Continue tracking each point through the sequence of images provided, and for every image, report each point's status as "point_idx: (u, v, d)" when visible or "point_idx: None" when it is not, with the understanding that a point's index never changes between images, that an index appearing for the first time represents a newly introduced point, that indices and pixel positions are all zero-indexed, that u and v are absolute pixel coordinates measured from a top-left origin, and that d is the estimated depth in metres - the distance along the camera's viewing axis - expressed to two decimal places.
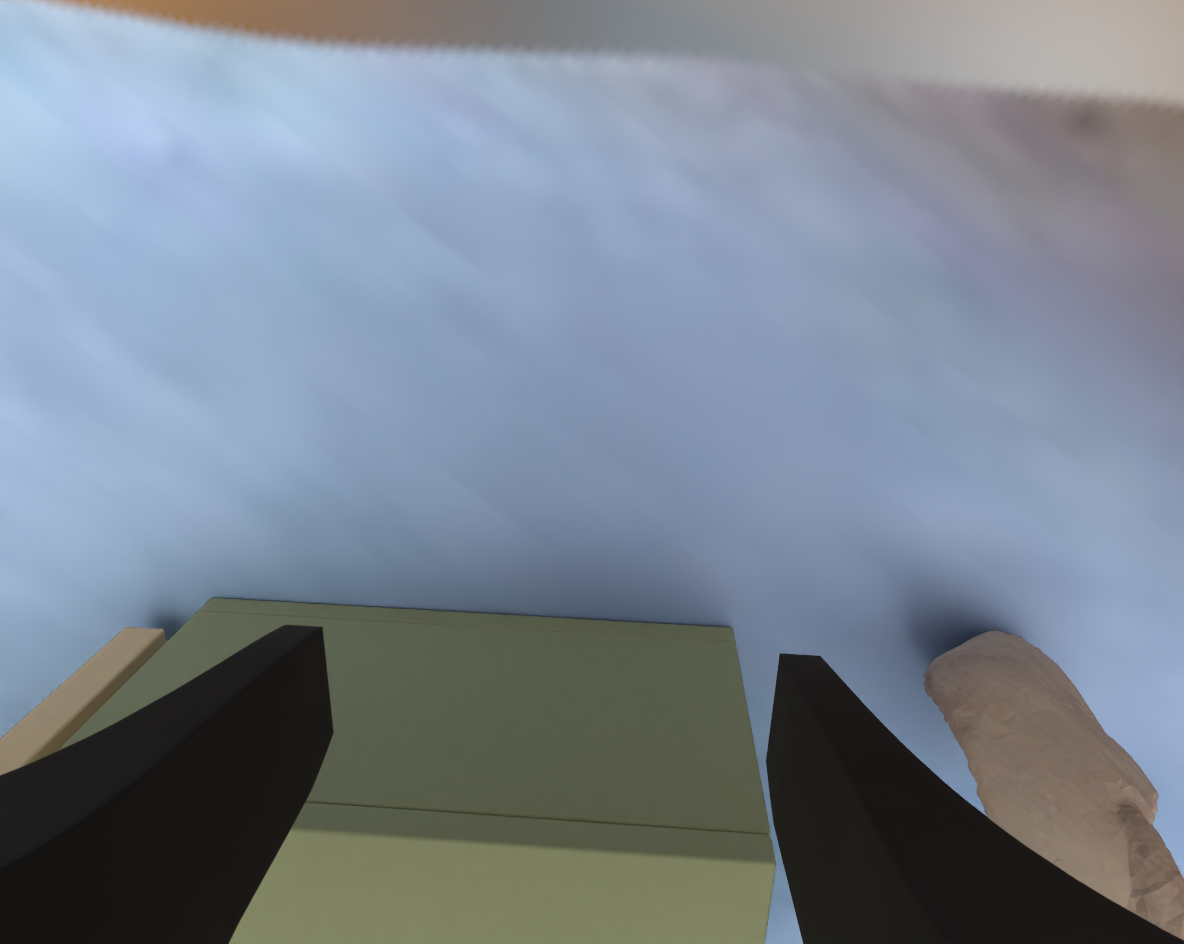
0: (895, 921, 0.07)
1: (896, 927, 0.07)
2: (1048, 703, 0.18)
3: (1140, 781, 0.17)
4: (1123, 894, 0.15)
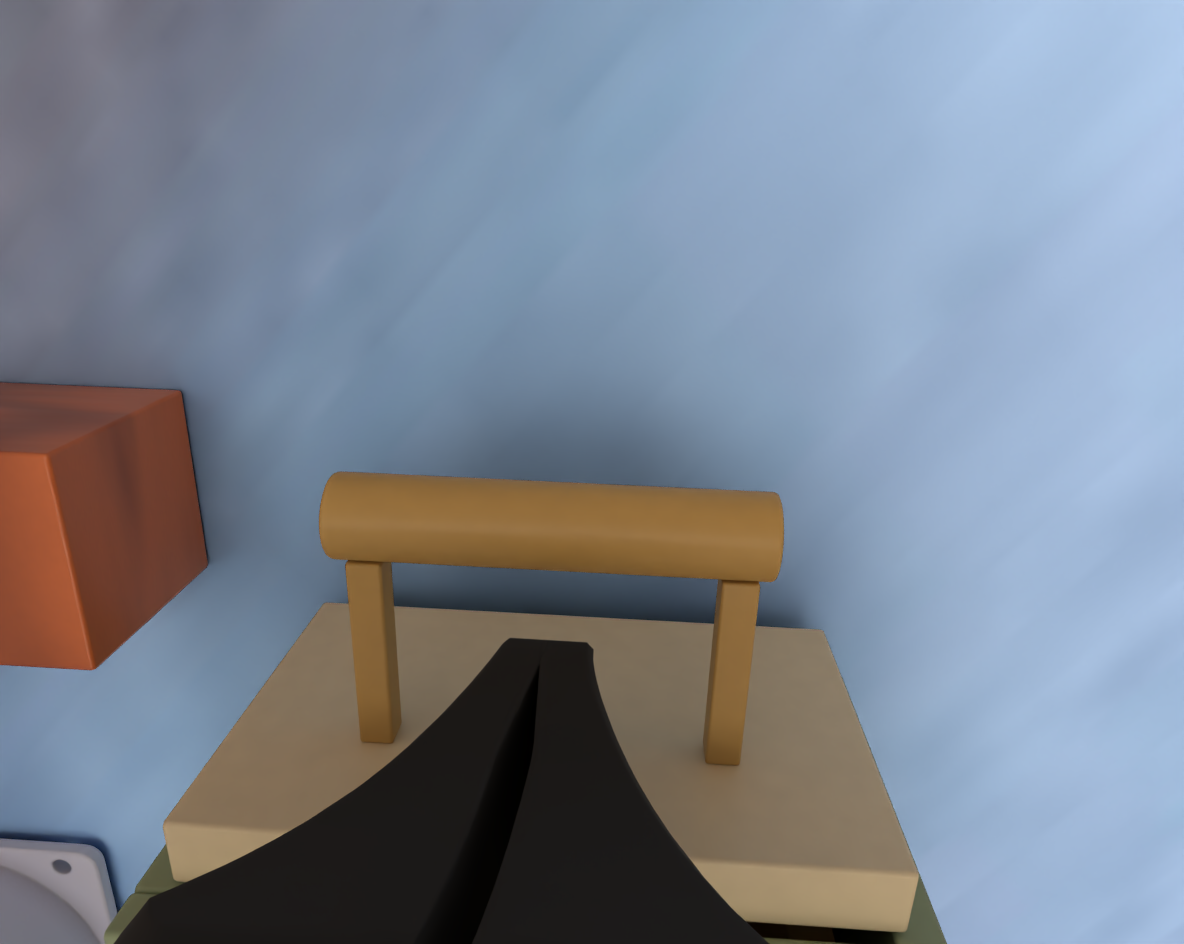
0: None
1: None
2: None
3: None
4: None
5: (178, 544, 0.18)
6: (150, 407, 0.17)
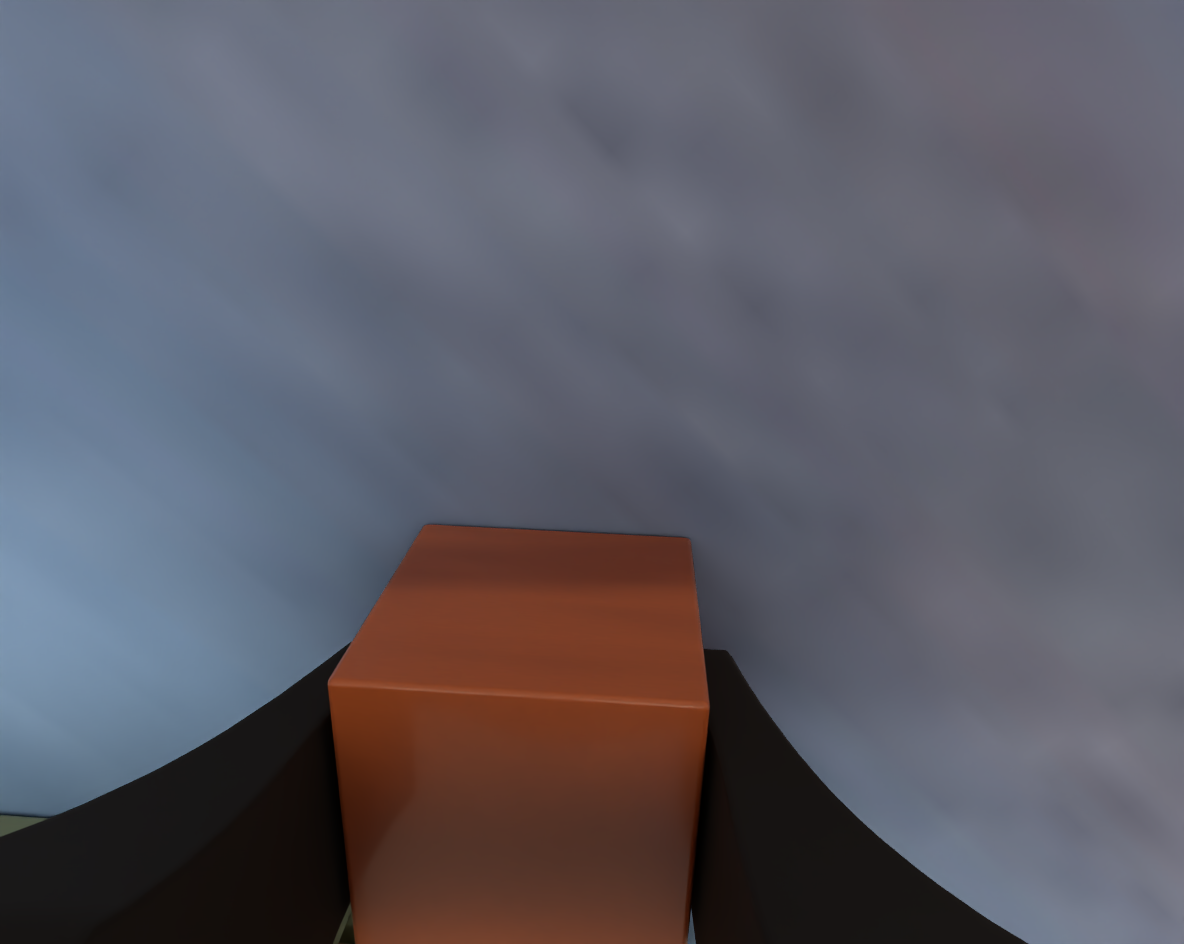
0: (738, 909, 0.07)
1: (738, 915, 0.07)
2: None
3: None
4: None
5: None
6: None
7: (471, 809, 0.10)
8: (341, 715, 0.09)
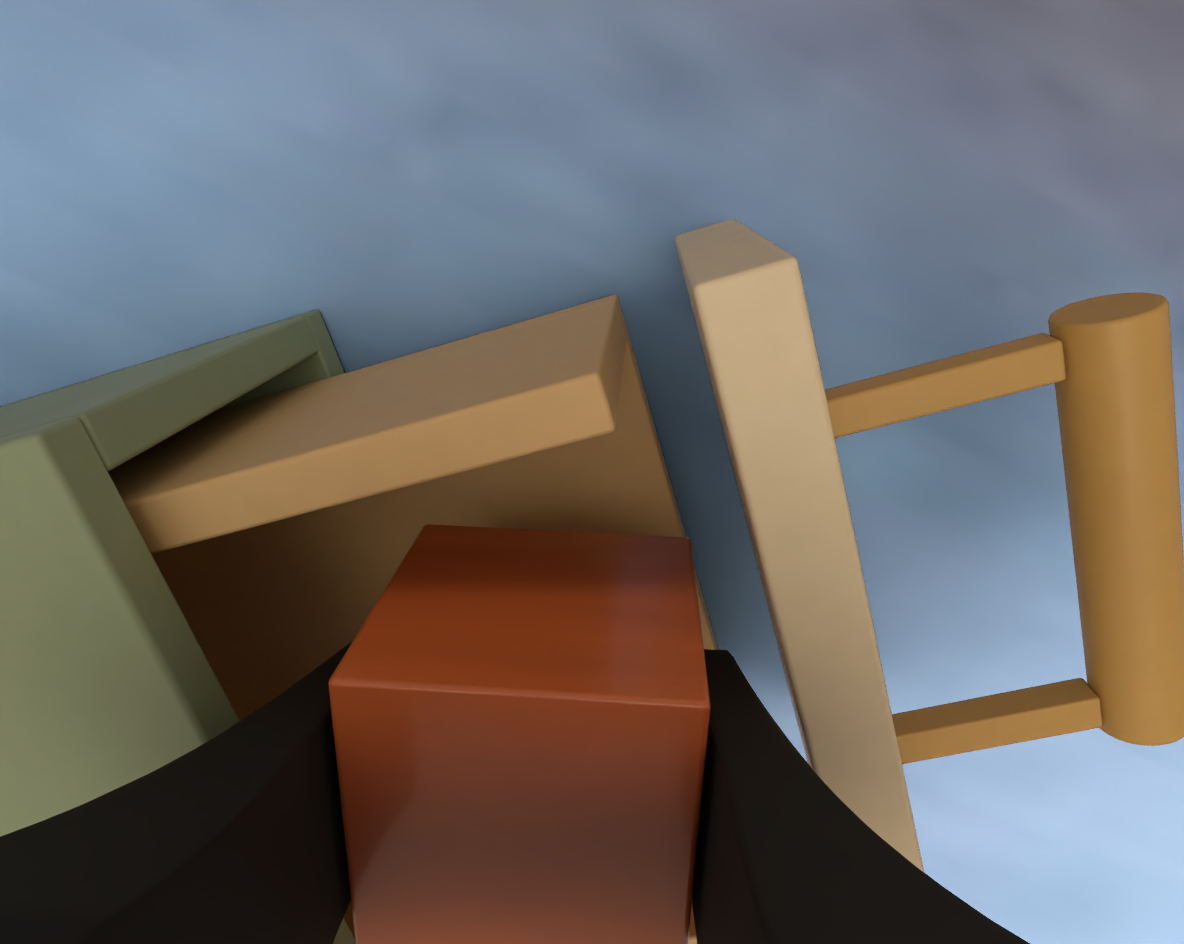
0: (740, 909, 0.07)
1: (740, 915, 0.07)
2: None
3: None
4: None
5: None
6: None
7: (472, 808, 0.10)
8: (342, 715, 0.09)
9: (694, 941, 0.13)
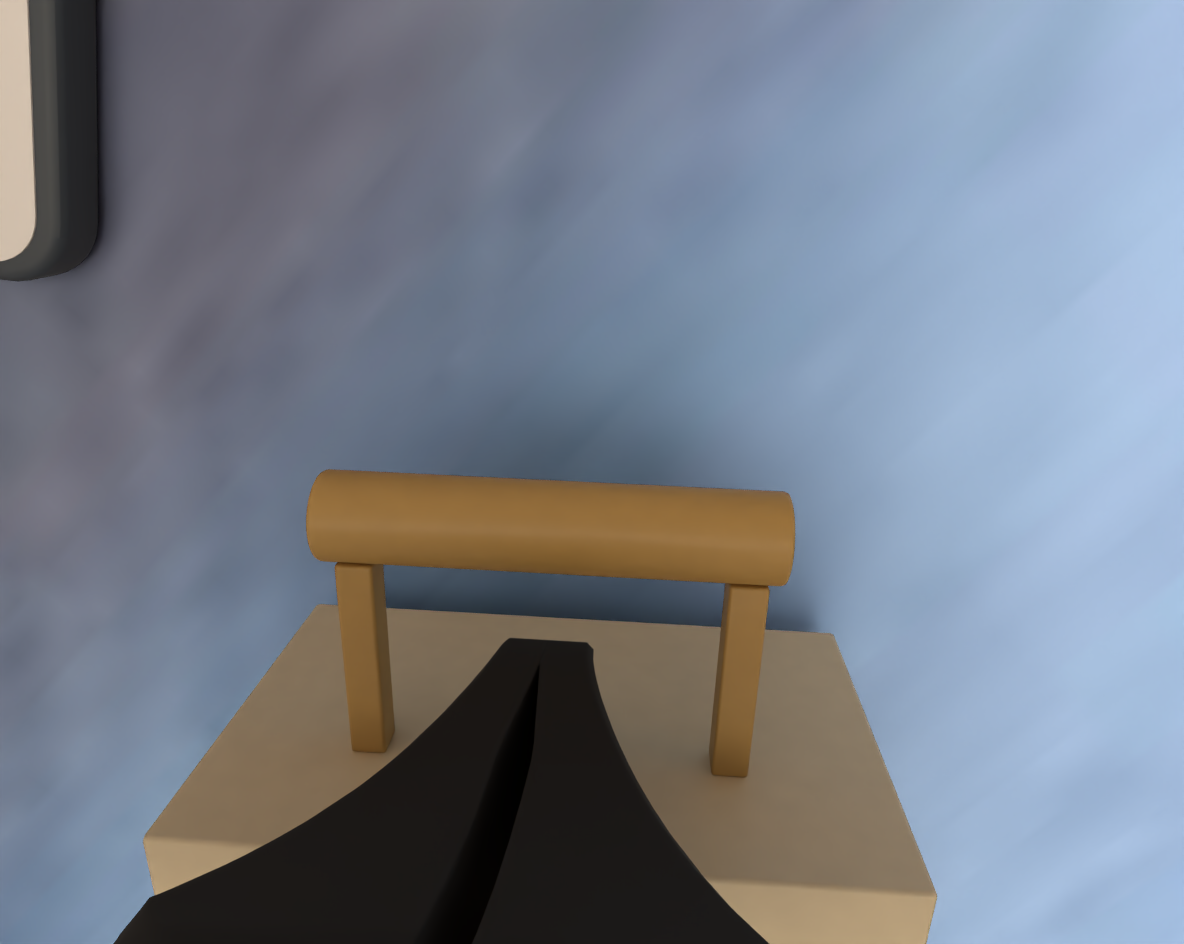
0: None
1: None
2: None
3: None
4: None
5: None
6: None
7: None
8: None
9: None
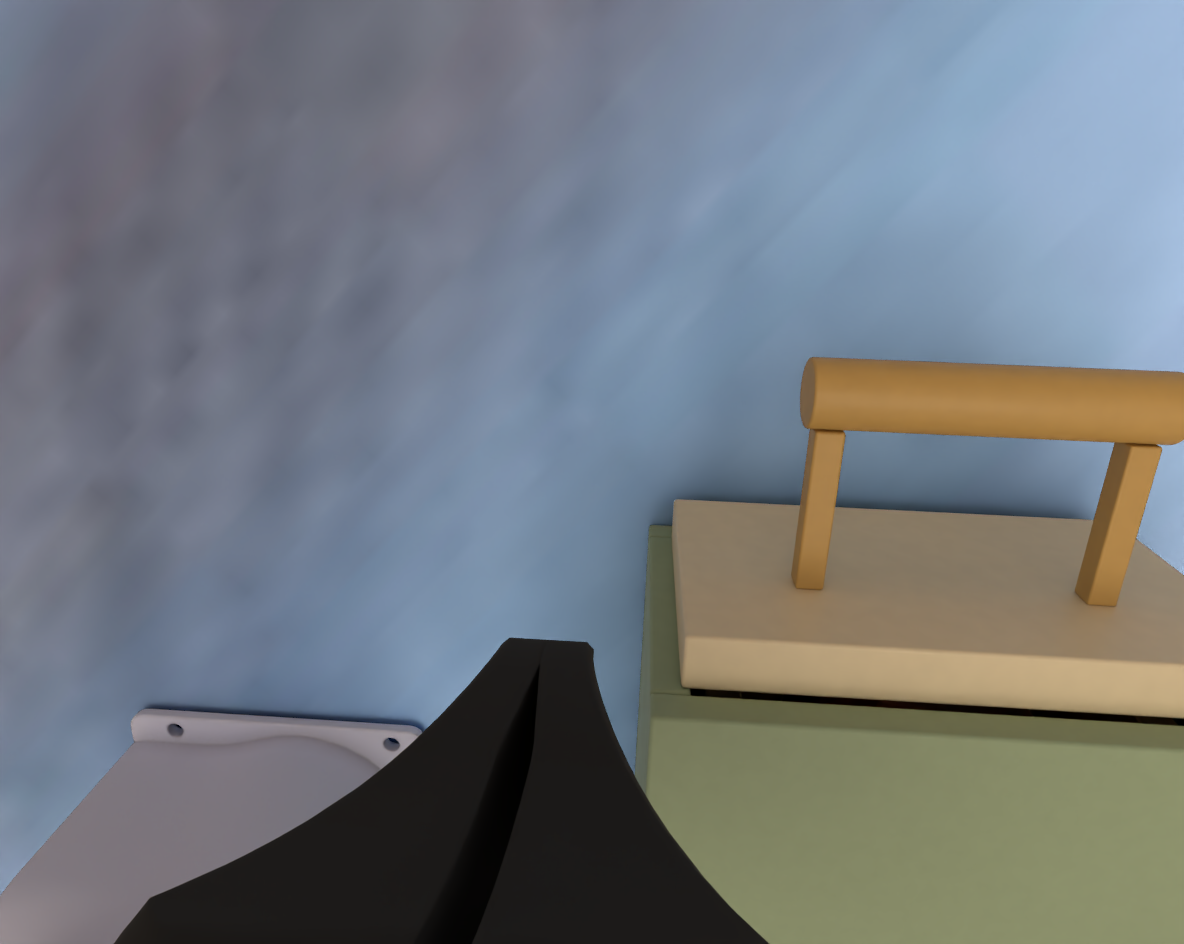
0: None
1: None
2: None
3: None
4: None
5: None
6: None
7: None
8: None
9: None
